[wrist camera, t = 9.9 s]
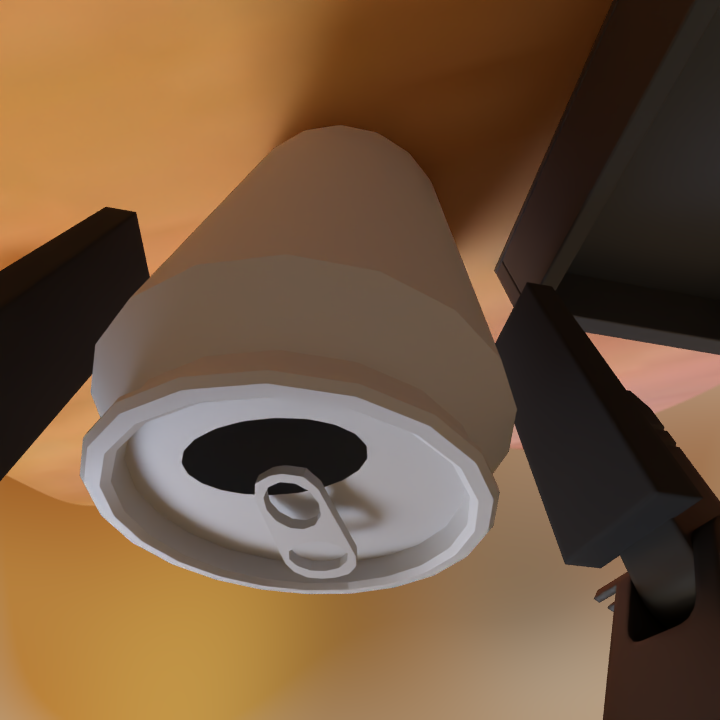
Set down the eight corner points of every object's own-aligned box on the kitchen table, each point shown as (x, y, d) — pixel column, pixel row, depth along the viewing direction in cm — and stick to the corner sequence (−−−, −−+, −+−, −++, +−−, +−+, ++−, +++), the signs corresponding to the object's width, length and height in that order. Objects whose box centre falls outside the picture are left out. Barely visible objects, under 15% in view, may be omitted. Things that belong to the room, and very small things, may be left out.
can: (419, 86, 12) (566, 239, 3) (452, 289, 16) (549, 603, 7) (210, 160, 13) (-148, 417, 4) (293, 327, 18) (208, 624, 9)
